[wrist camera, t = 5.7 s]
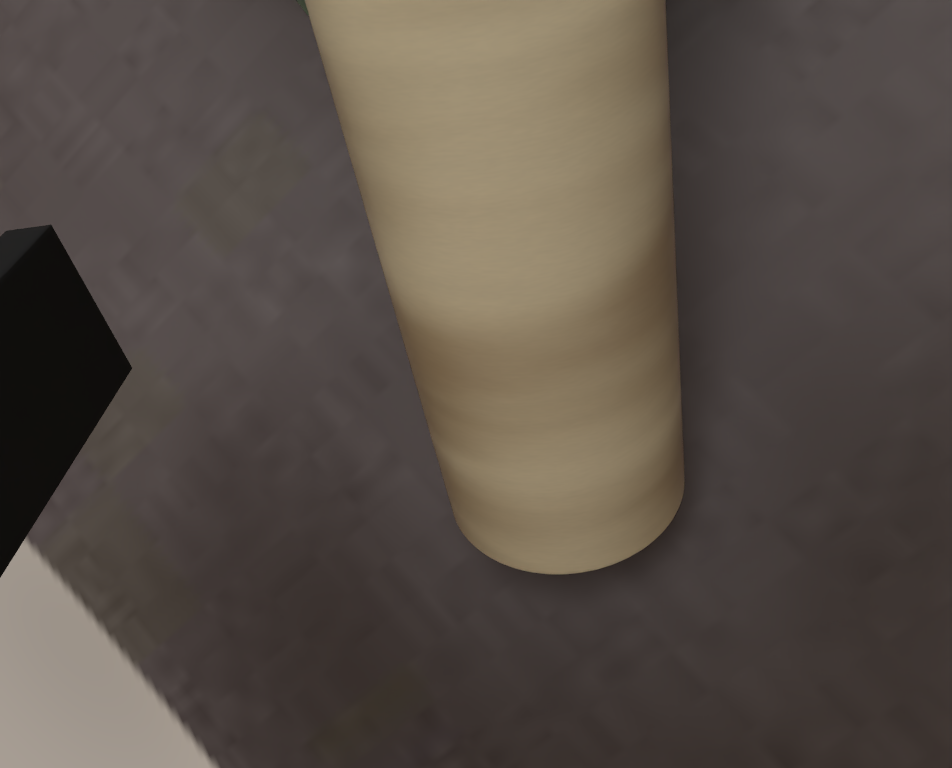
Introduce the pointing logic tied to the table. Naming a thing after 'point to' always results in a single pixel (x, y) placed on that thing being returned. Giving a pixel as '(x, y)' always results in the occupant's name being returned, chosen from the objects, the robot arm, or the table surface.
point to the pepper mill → (526, 256)
